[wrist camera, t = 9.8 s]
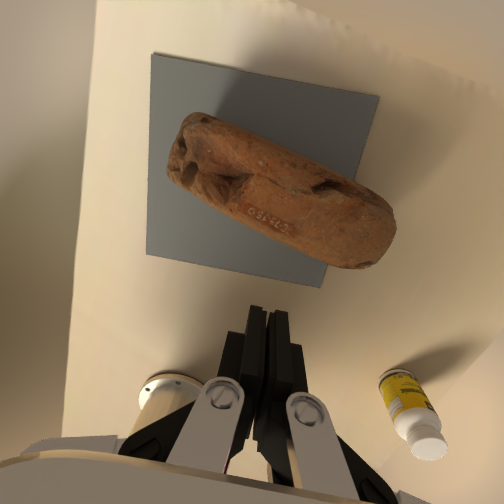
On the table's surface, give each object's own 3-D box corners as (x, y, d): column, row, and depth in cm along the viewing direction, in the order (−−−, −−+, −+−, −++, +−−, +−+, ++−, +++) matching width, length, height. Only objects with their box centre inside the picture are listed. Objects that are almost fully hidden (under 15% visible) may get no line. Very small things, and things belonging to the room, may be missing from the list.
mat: (319, 286, 36) (320, 288, 36) (147, 253, 36) (145, 254, 36) (378, 97, 28) (379, 96, 27) (152, 55, 28) (151, 54, 27)
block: (340, 247, 33) (187, 174, 32) (377, 190, 30) (210, 107, 29) (364, 294, 23) (144, 191, 22) (422, 216, 20) (172, 92, 19)
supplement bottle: (423, 375, 40) (466, 444, 31) (401, 399, 42) (435, 470, 33) (390, 362, 40) (423, 428, 31) (369, 387, 42) (395, 455, 33)
